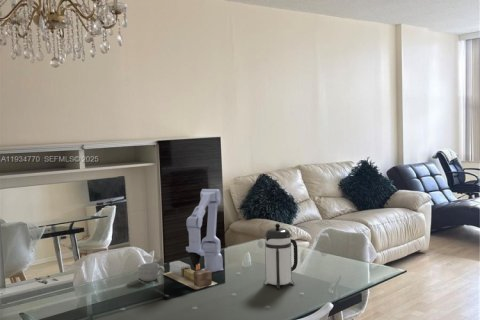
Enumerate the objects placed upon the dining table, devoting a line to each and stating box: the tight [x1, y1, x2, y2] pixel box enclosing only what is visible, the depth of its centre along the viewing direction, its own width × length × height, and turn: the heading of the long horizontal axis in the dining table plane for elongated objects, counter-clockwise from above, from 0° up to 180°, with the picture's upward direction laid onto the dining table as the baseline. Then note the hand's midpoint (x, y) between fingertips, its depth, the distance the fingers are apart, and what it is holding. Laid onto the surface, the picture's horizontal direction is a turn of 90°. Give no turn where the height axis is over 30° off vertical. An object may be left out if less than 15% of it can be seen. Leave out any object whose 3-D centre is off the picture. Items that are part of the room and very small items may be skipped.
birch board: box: [162, 271, 218, 290], centre depth 246 cm, size 13×33×1 cm, turn 37°
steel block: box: [169, 260, 192, 278], centre depth 253 cm, size 6×12×6 cm, turn 37°
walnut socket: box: [194, 268, 213, 289], centre depth 235 cm, size 7×5×6 cm
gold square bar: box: [183, 263, 201, 280], centre depth 242 cm, size 3×19×8 cm, turn 37°
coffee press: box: [263, 223, 299, 290], centre depth 234 cm, size 17×16×30 cm
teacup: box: [137, 262, 165, 282], centre depth 246 cm, size 14×11×8 cm
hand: (195, 267), depth 240 cm, fingers closed
